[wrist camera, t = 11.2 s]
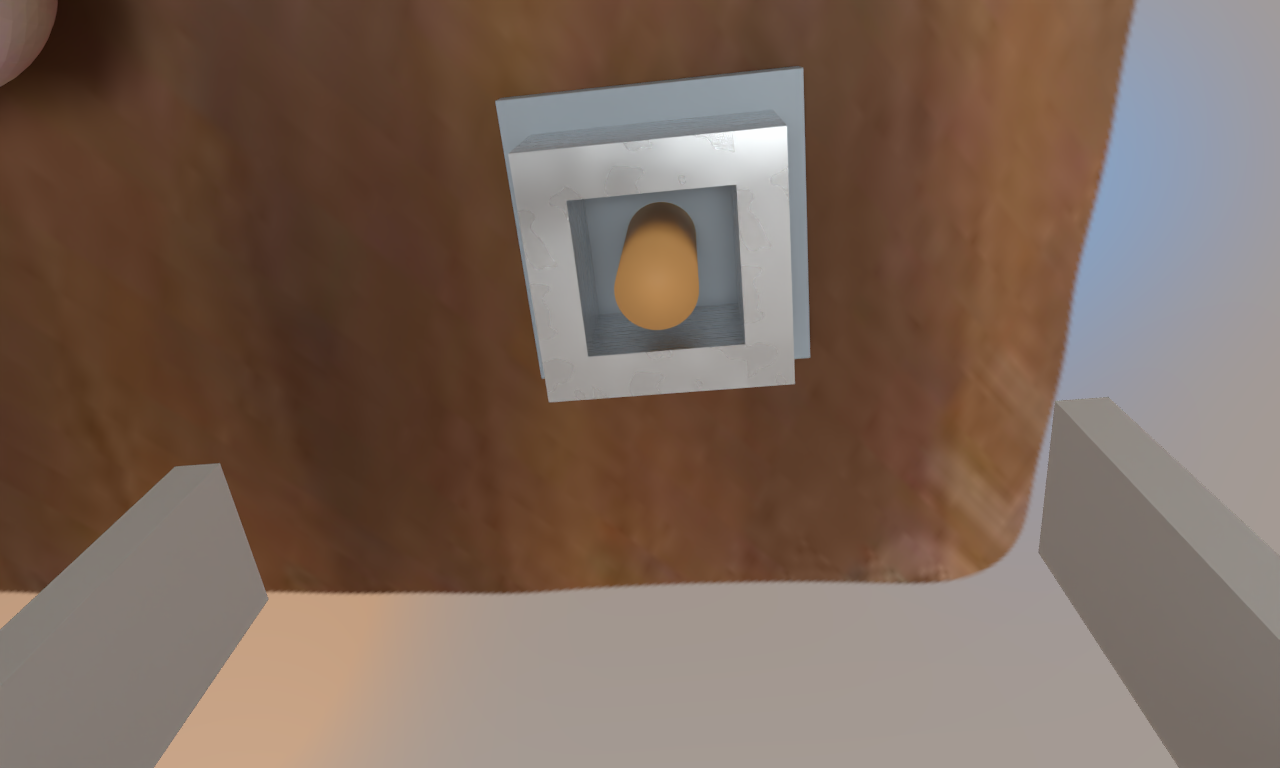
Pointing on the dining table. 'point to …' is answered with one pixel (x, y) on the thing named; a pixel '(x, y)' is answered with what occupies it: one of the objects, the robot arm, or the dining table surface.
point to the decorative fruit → (23, 33)
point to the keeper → (671, 197)
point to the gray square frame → (712, 335)
